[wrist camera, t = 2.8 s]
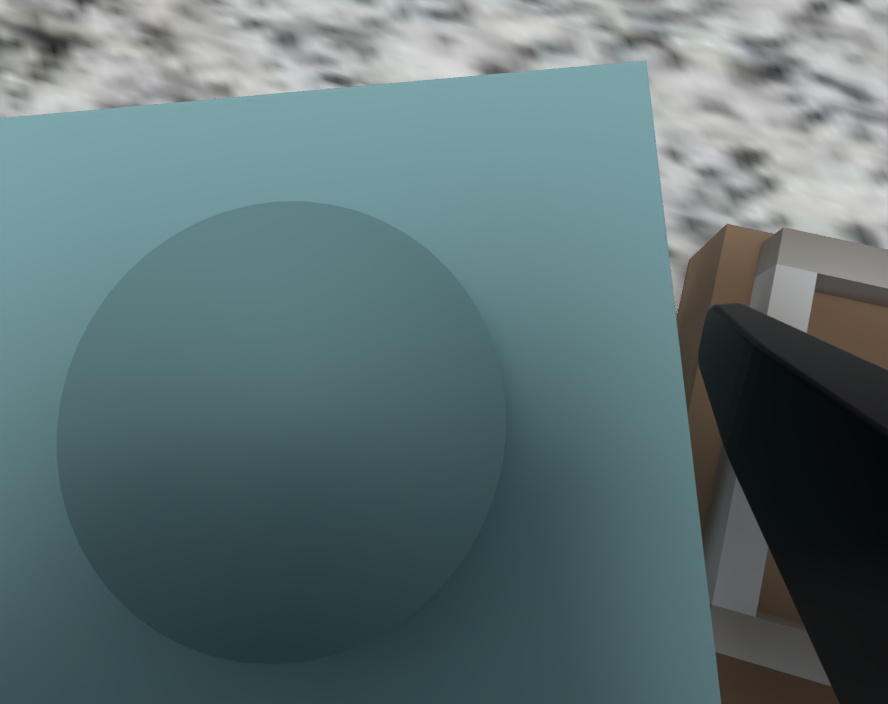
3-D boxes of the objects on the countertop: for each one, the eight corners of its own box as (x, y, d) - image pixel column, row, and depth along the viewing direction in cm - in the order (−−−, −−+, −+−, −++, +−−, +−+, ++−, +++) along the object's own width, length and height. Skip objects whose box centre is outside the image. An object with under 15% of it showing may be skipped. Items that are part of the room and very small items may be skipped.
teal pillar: (545, 539, 15) (797, 928, 3) (349, 546, 15) (-193, 923, 3) (530, 343, 16) (676, -16, 4) (345, 354, 16) (-91, 60, 4)
